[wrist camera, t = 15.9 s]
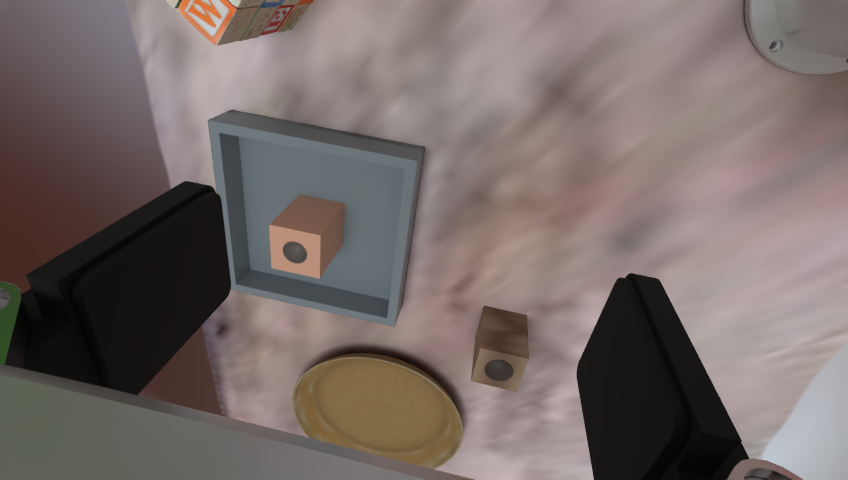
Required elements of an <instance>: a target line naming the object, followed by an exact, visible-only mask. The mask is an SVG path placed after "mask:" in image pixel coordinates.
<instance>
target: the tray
mask: <svg viewBox="0 0 848 480" xmlns="http://www.w3.org/2000/svg"><path fill="white" fill-rule="evenodd" d="M208 126H209V134H210V143H211V151H212V159H213V167H214V175H215V183H216V192H217V194H219V195H220V197H221V201H222V209H223V218H224V226H225V235H226V243H227V252H228V260H229V269H230V277H231V290H234V291H238V292H242V293H247V294H251V295H256V296H260V297H265V298H269V299H273V300H278V301H282V302H287V303H291V304H295V305H300V306H304V307H309V308H313V309H318V310H322V311H326V312H331V313H335V314H340V315H344V316H349V317H353V318H357V319H362V320H366V321H371V322H375V323H380V324H384V325H388V326H393V327H395V325H396V322H397V319H398V316H399V313H400V310H401V307H402V304H403V297H404V290H405V283H406V276H407V269H408V262H409V255H410V248H411V241H412V234H413V227H414V220H415V213H416V206H417V199H418V192H419V185H420V178H421V171H422V164H423V157H424V150H425V147H422V146H417V145H411V144H406V143H401V142H396V141H391V140H385V139H380V138H375V137H370V136H365V135H359V134H354V133H349V132H344V131H339V130H333V129H328V128H323V127H318V126H313V125H307V124H302V123H297V122H292V121H287V120H281V119H276V118H271V117H266V116H261V115H255V114H250V113H245V112H240V111H234V110H230V111H228V112H225V113H223V114H221V115H218V116H216V117H214V118H212V119H209V120H208ZM300 194H302V195H307V196H312V197H316V198H321V199H326V200H331V201H336V202H341V203H345V218H344V240H343V244H342V246H341V247H340V249H339V250H338V252H337V254H336V255H335V257H334V258H333V260H332V261H331V263H330V264H329V266H328V267H327V269H326V270H325V272H324V273H323V275H322V276H321V278H320V279H319V278H314V277H309V276H305V275H300V274H296V273H291V272H287V271H282V270H278V269H273V268H271V250H270V233H269V224H270V223H271V222H272V221H273V220H274V219H275V218H276V217H277V216H278V215H279V214H280V213H281V212H282V211H283V210H284V209H285V208H286V207H288V206H289V205H290V204H291V203H292V202H293V201H294V200H295V199H296V198H297V197H298V196H299V195H300Z"/></svg>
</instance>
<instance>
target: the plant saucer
mask: <svg viewBox="0 0 848 480" xmlns="http://www.w3.org/2000/svg"><path fill="white" fill-rule="evenodd" d="M292 404H293V411H294V414H295V417H296V419H297V422H298V423H299V425H300V427H301V428H302V430H303V431H304V433H305V434H306V435H307V436H308V437H309V438H312V439H316V440H320V441H324V442H328V443H332V444H336V445H340V446H344V447H348V448H352V449H356V450H360V451H364V452H368V453H372V454H376V455H380V456H384V457H387V458H391V459H395V460H399V461H403V462H407V463H411V464H415V465H419V466H423V467H427V468H430V469H436V468H438V467H440V466H442V465H443V464H445V463H446V462H448V461H449V460H450V459H451V458H452V457H453V456H454V455H455V454H456V452H457V451H458V449H459V447H460V445H461V442H462V437H463V426H462V421H461V417H460V414H459V412H458V409H457V407H456V405H455V403H454V402H453V400H452V399H451V397H450V396H449V394H448V393H447V392H446V390H445V389H444V388H443V387H442V386H441V385H440V384H439V383H438V382H437V381H436V380H434V379H433V378H432V377H431V376H429V375H428V374H427V373H425V372H424V371H422V370H421V369H419V368H417V367H415V366H413V365H411V364H409V363H407V362H404V361H402V360H399V359H396V358H393V357H389V356H385V355H379V354H371V353H354V354H346V355H341V356H336V357H333V358H330V359H327V360H325V361H323V362H321V363H319V364H317V365H315V366H314V367H312V368H311V369H310V370H308V371H307V372H306V373H305V374H304V375H303V376H302V377H301V378H300V379H299V381H298V382H297V384H296V386H295V388H294V392H293V398H292Z"/></svg>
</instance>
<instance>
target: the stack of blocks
mask: <svg viewBox="0 0 848 480" xmlns="http://www.w3.org/2000/svg"><path fill="white" fill-rule="evenodd" d="M166 1H167V2H168V3H169V4H170V5H171V6H172V7H173V8H178V11H179V13H180V14H181V15H182V16H183V17H184V18H185V19H186V20H187V21H189V22H190V23H191V24H192V25H193V26H194V27H195V28H196V29H197V30H198V31H199V32H201V33H202V34H203V35H204V36H205V37H206V38H207V39H208V40H209V41H210V42H212V43H213V44H214V45H215V46H218V45H222V44H227V43H231V42H234V41H242V40H245V39H246V40H247V39H251V38H256V37H259V36H260V35H266V34H270V33H274V32H283V31H286V30H290V29H292V28H293V27H294V26H295V24H296V23H297V21H298V20H299V19H300V17H301V16H302V14H303V13H304V11H305V10H306V9H307V7H308V6H309V4H310V3H312V2H313V0H166Z"/></svg>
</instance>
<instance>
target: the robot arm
mask: <svg viewBox="0 0 848 480" xmlns="http://www.w3.org/2000/svg"><path fill="white" fill-rule="evenodd" d="M744 8H745V23H746V27H747V30H748V33H749V37H750V39H751V41H752V43H753V44H754V46H755V47H756V49H757V51H758V52H759V53H760V54H761V55H762V56H764V57H765V58H766V59H767V60H768V61H769V62H771V63H773V64H775V65H777V66H778V67H780V68H783V69H786V70H789V71H792V72H797V73H803V74H809V75H823V74H833V73H838V72H844V71H848V0H745V7H744ZM772 42H773V43H774V44H773V46H772V47H771V48H770V45H771V43H772ZM26 276H27V279H28V281H29V283H30V286H31V289H30V290H28V291H26V292H25V293H23V294H22V292H21V290H19V289H18V288H17V287H16V286H15V285H12V284H9V283H6V282H0V480H473V479H470V478H466V477H462V476H458V475H454V474H450V473H446V472H442V471H438V470H434V469H430V468H427V467H423V466H419V465H415V464H411V463H407V462H403V461H399V460H395V459H391V458H387V457H384V456H380V455H376V454H372V453H368V452H364V451H360V450H356V449H352V448H348V447H344V446H340V445H336V444H332V443H328V442H324V441H320V440H316V439H312V438H308V437H304V436H300V435H296V434H292V433H288V432H284V431H280V430H276V429H272V428H268V427H264V426H260V425H256V424H252V423H248V422H244V421H240V420H236V419H232V418H228V417H224V416H219V415H215V414H211V413H207V412H203V411H199V410H195V409H191V408H187V407H182V406H179V405H174V404H170V403H166V402H162V401H158V400H154V399H150V398H146V397H142V396H138V394H139V393H140V392H141V391H142V390H143V388H144V387H145V386H146V385H147V384H148V383H149V382H150V381H151V380H152V379H153V378H154V376H155V375H156V374H157V373H158V372H159V371H160V370H161V369H162V368H163V367H164V366H165V365H166V363H167V362H168V361H169V360H170V359H171V358H172V357H173V356H174V355H175V354H176V353H177V351H178V350H179V349H180V348H181V347H182V346H183V345H184V344H185V343H186V342H187V341H188V339H189V338H190V337H191V336H192V335H193V334H194V333H195V332H196V331H197V330H198V329H199V327H200V326H201V325H202V324H203V323H204V322H205V321H206V320H207V319H208V318H209V317H210V316H211V314H212V313H213V312H214V311H215V310H216V309H217V308H218V307H219V306H220V305H221V304H222V302H223V301H224V300H225V299H226V298H227V297H228V295H229V293H230V290H231V277H230V269H229V260H228V252H227V243H226V235H225V226H224V218H223V209H222V201H221V197H220V195H219V194H217V193H216V192H215V190H214V188H213V187H211V186H208V185H203V184H198V183H194V182H188V181H185V182H183V183H181V184H179V185H177V186H176V187H174V188H172V189H171V190H169V191H167V192H166V193H164V194H162V195H160V196H159V197H157V198H155V199H154V200H152V201H151V202H149V203H147V204H145V205H143V206H142V207H140V208H138V209H137V210H135V211H133V212H132V213H130V214H128V215H127V216H125V217H123V218H121V219H120V220H118V221H117V222H115V223H113V224H111V225H110V226H108V227H106V228H105V229H103V230H102V231H100V232H98V233H96V234H95V235H93V236H91V237H89V238H88V239H86V240H85V241H82V242H81V243H79V244H77V245H76V246H74V247H72V248H71V249H69V250H67V251H66V252H64V253H62V254H60V255H59V256H57V257H55V258H54V259H52V260H50V261H49V262H47V263H45V264H44V265H42V266H40V267H38V268H37V269H35V270H33V271H32V272H30V273H28V274H27V275H26ZM577 382H578V388H579V393H580V399H581V405H582V411H583V417H584V423H585V429H586V435H587V441H588V447H589V452H590V458H591V464H592V470H593V476H594V480H802V479H801V478H800V477H798V476H797V475H795V474H793V473H792V472H790V471H788V470H787V469H785V468H783V467H781V466H778V465H776V464H774V463H771V462H768V461H765V460H759V459H749V457H748V455H747V453H746V451H745V449H744V447H743V445H742V443H741V442H742V440H741V439H740V437H739V435H738V433H737V431H736V429H735V427H734V425H733V423H732V421H731V419H730V417H729V415H728V413H727V411H726V409H725V407H724V405H723V403H722V401H721V399H720V397H719V395H718V393H717V392H716V390H715V388H714V386H713V384H712V382H711V380H710V378H709V376H708V374H707V372H706V370H705V368H704V366H703V364H702V362H701V360H700V358H699V356H698V354H697V352H696V350H695V348H694V346H693V345H692V343H691V341H690V339H689V337H688V335H687V333H686V331H685V329H684V327H683V325H682V323H681V321H680V319H679V317H678V315H677V313H676V311H675V309H674V307H673V305H672V303H671V301H670V299H669V298H668V296H667V294H666V292H665V290H664V288H663V286H662V284H661V282H660V281H659V279H656V278H652V277H647V276H642V275H637V274H633V273H630V274H628V275H627V276H626V278H618V279H617V280H616V282H615V284H614V286H613V289H612V291H611V293H610V295H609V297H608V300H607V302H606V304H605V306H604V308H603V310H602V313H601V315H600V317H599V319H598V321H597V324H596V326H595V328H594V330H593V332H592V335H591V337H590V339H589V341H588V343H587V345H586V348H585V350H584V352H583V354H582V356H581V359H580V361H579V363H578V367H577Z"/></svg>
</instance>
